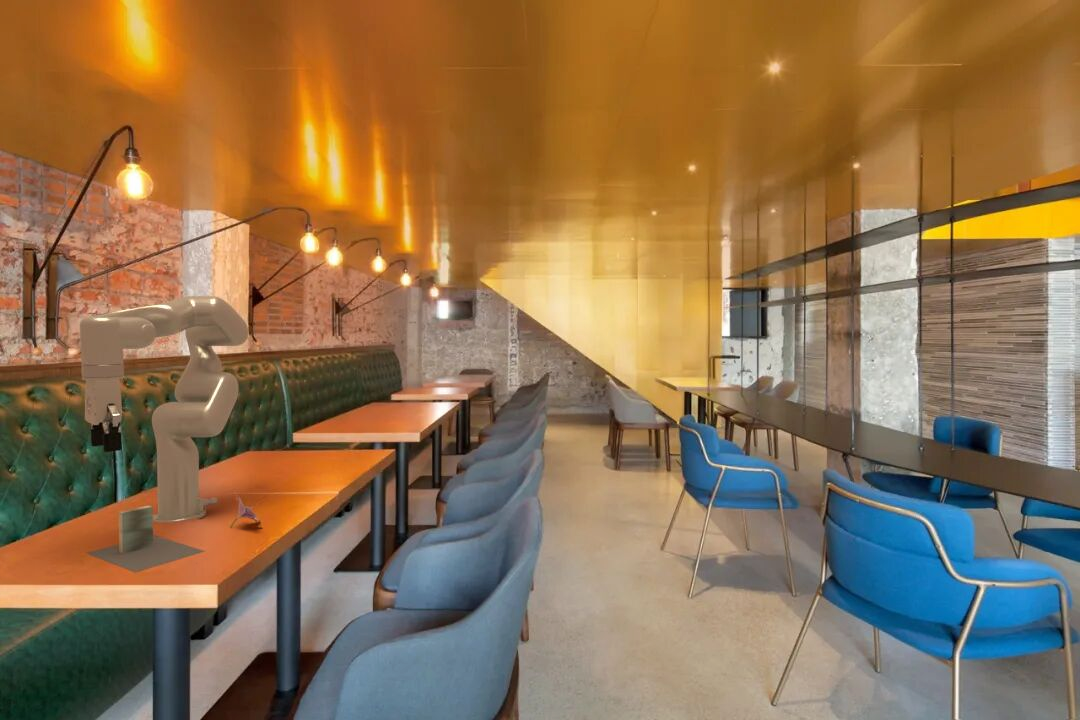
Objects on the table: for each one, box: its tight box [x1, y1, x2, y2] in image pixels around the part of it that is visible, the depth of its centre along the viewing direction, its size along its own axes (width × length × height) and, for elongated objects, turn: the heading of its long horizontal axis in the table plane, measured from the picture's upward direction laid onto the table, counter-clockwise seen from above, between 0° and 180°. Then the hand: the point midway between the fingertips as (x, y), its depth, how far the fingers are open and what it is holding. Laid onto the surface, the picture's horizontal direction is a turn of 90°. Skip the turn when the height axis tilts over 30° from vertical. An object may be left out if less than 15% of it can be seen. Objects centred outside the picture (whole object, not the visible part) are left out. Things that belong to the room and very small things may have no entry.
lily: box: [229, 490, 263, 529], centre depth 147 cm, size 12×12×10 cm
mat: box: [86, 534, 206, 573], centre depth 128 cm, size 14×22×1 cm, turn 60°
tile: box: [118, 505, 154, 554], centre depth 130 cm, size 6×2×9 cm, turn 150°
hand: (106, 448), depth 129 cm, fingers open, 9 cm apart
